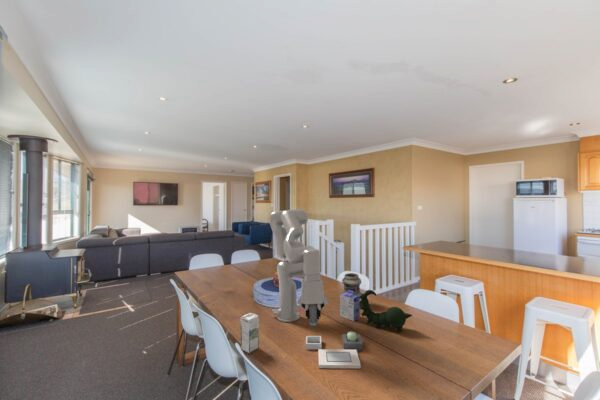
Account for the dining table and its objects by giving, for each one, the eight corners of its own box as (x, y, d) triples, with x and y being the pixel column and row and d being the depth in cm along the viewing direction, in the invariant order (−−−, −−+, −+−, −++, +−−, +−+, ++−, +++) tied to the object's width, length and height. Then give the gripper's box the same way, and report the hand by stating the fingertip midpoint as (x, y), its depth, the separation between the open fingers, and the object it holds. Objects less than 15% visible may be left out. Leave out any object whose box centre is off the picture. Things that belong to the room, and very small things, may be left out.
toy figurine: (360, 329, 138) (412, 337, 125) (356, 291, 139) (407, 295, 126) (366, 322, 146) (415, 329, 133) (362, 286, 147) (411, 289, 134)
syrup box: (250, 343, 123) (250, 312, 123) (259, 348, 120) (258, 315, 120) (240, 349, 119) (239, 316, 119) (249, 353, 115) (248, 319, 115)
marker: (308, 326, 119) (308, 302, 119) (308, 322, 123) (308, 299, 123) (318, 326, 118) (317, 302, 119) (318, 322, 123) (317, 298, 123)
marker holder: (305, 349, 118) (305, 343, 118) (306, 341, 124) (306, 335, 124) (321, 349, 117) (321, 343, 117) (321, 341, 124) (321, 335, 124)
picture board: (318, 368, 104) (318, 364, 104) (318, 352, 115) (318, 349, 115) (360, 368, 103) (360, 364, 103) (356, 352, 114) (356, 349, 114)
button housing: (344, 350, 116) (343, 343, 116) (342, 340, 124) (341, 334, 124) (362, 350, 116) (362, 343, 116) (359, 340, 124) (359, 334, 124)
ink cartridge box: (360, 318, 147) (359, 292, 147) (354, 321, 143) (353, 294, 143) (346, 313, 154) (345, 287, 154) (339, 316, 151) (339, 290, 151)
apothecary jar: (340, 306, 165) (339, 276, 165) (344, 299, 176) (344, 271, 177) (360, 308, 161) (359, 278, 161) (363, 301, 172) (362, 273, 172)
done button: (348, 344, 118) (347, 336, 118) (346, 339, 122) (346, 331, 122) (357, 344, 118) (357, 336, 118) (355, 339, 122) (355, 331, 122)
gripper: (292, 279, 118) (294, 322, 117) (331, 279, 117) (332, 321, 117) (294, 275, 125) (295, 315, 125) (330, 274, 124) (331, 314, 124)
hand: (313, 317), depth 121 cm, fingers closed on marker, 4 cm apart
